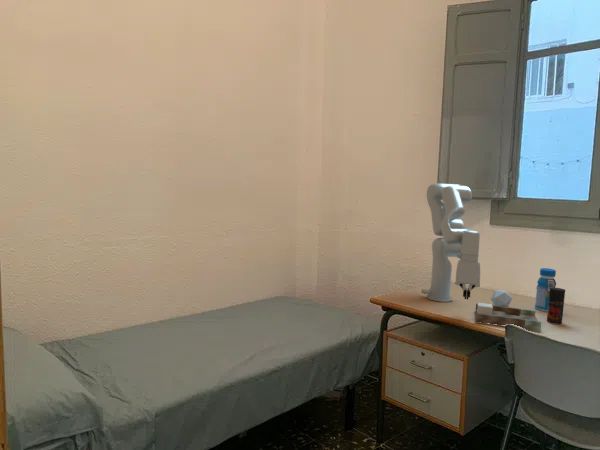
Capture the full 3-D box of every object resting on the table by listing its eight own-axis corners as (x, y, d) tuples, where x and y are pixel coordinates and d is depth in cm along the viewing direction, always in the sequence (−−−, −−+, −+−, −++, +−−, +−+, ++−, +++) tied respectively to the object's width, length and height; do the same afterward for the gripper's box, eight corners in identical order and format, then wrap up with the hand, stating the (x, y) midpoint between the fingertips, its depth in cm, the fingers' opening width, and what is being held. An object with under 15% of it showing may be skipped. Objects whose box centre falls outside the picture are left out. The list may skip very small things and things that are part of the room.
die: (508, 311, 228) (518, 294, 230) (492, 301, 229) (501, 284, 231) (500, 313, 236) (510, 296, 238) (485, 303, 237) (494, 286, 239)
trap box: (476, 322, 204) (477, 313, 204) (475, 311, 222) (476, 303, 222) (540, 331, 196) (541, 322, 196) (534, 319, 214) (535, 310, 214)
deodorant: (543, 319, 214) (547, 287, 212) (556, 320, 214) (559, 287, 213) (551, 324, 208) (555, 290, 206) (564, 324, 208) (568, 290, 207)
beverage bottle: (532, 309, 231) (536, 269, 229) (536, 306, 238) (540, 266, 236) (552, 313, 226) (556, 271, 224) (555, 309, 233) (559, 269, 231)
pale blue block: (477, 314, 210) (478, 305, 210) (477, 311, 216) (477, 302, 215) (492, 316, 208) (492, 307, 208) (491, 312, 214) (492, 304, 213)
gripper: (451, 257, 211) (448, 298, 212) (487, 260, 206) (484, 302, 207) (451, 255, 218) (449, 295, 219) (486, 258, 213) (483, 299, 214)
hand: (466, 298), depth 213 cm, fingers closed
